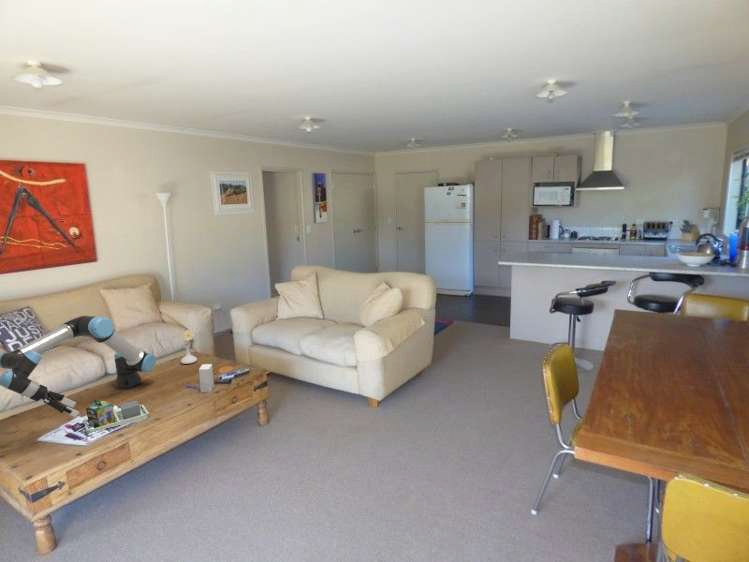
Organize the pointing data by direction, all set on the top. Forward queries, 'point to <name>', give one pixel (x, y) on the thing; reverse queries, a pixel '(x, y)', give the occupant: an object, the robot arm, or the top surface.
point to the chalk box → (100, 413)
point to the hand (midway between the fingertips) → (75, 409)
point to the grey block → (130, 410)
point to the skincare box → (206, 378)
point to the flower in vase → (188, 357)
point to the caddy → (143, 416)
